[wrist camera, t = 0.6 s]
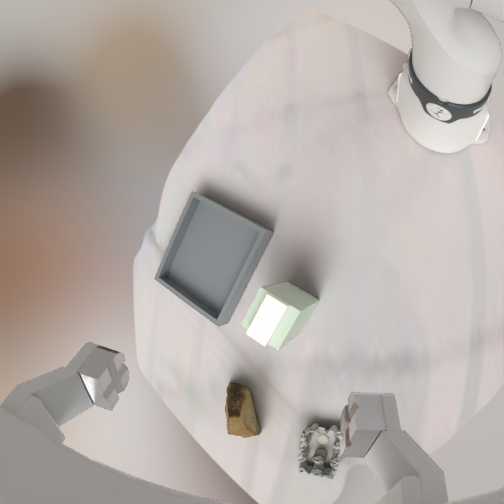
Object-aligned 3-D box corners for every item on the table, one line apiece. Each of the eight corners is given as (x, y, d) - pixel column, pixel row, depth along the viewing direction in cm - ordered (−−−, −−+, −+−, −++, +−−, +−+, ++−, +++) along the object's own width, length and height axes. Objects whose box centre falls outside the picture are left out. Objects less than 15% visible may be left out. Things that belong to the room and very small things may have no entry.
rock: (269, 447, 49) (277, 407, 47) (226, 459, 45) (230, 419, 43) (243, 414, 58) (247, 375, 56) (203, 423, 54) (205, 383, 52)
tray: (202, 194, 58) (192, 191, 55) (273, 232, 52) (266, 230, 49) (165, 278, 61) (154, 278, 58) (228, 322, 55) (218, 326, 52)
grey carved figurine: (307, 418, 49) (301, 429, 45) (348, 425, 46) (345, 437, 42) (299, 463, 49) (292, 474, 45) (337, 470, 46) (333, 482, 42)
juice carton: (288, 281, 51) (257, 287, 39) (319, 299, 49) (298, 312, 37) (271, 312, 52) (236, 327, 40) (301, 331, 50) (274, 352, 38)
